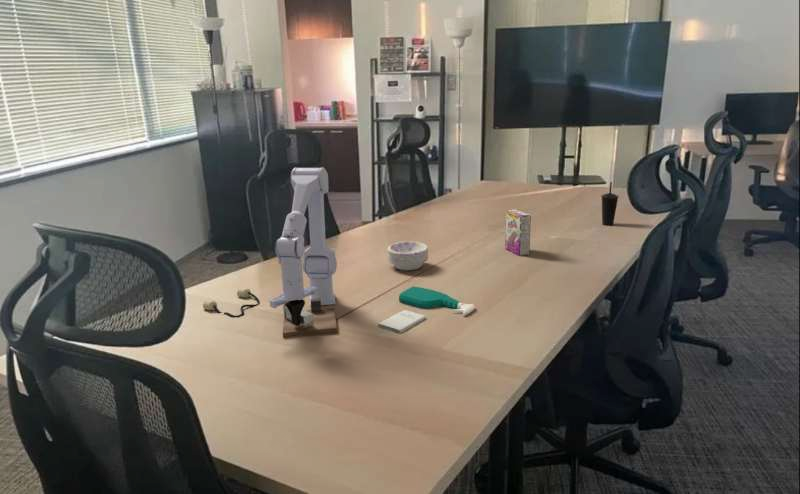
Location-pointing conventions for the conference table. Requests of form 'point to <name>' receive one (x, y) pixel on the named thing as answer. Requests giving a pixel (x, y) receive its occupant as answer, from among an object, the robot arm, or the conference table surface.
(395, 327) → the external hard drive
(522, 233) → the candy bar box
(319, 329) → the stool seat
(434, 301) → the spray bottle
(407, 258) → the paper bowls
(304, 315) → the folding leg
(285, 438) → the conference table surface
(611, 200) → the drinking cup
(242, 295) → the cable
